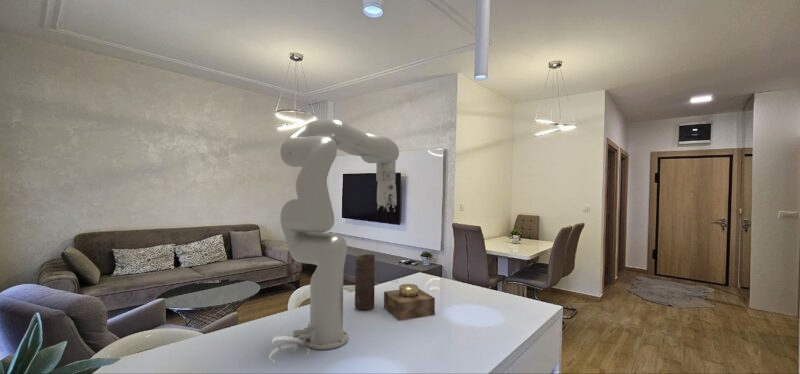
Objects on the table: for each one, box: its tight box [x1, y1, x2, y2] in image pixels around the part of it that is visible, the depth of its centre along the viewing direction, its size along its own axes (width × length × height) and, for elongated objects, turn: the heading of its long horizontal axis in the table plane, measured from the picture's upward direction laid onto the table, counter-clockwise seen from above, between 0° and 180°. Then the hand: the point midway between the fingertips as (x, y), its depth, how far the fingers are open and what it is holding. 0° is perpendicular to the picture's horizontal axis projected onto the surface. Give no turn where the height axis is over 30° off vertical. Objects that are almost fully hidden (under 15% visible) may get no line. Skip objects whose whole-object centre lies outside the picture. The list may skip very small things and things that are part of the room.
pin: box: [398, 283, 419, 298], centre depth 128 cm, size 7×7×8 cm
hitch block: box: [383, 287, 436, 321], centre depth 128 cm, size 14×14×6 cm
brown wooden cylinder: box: [354, 253, 376, 310], centre depth 130 cm, size 8×7×20 cm
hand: (385, 221), depth 136 cm, fingers open, 9 cm apart
